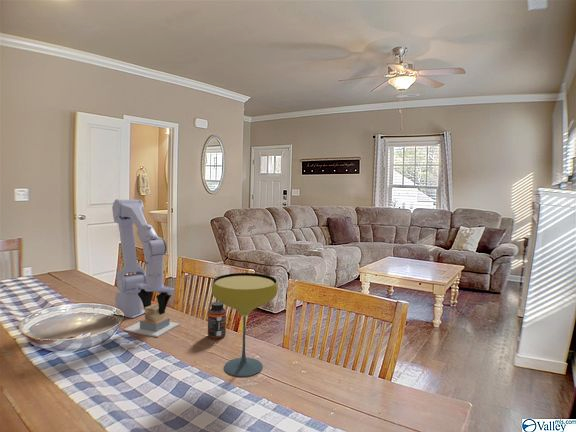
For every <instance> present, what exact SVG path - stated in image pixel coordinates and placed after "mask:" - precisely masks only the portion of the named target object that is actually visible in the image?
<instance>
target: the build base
mask: <svg viewBox="0 0 576 432" xmlns="http://www.w3.org/2000/svg"><path fill="white" fill-rule="evenodd" d="M170 320H171V319H170V317H166V316H164V319H162V320H160V321H158V322H156V323H155V322H150V321H145V318H144V319H142V320H140V321H138V322H136V323H134V324H132V325H130V326H128V327H126V328H124V329H123V331H125V332H130V333H135V334H139V335H144V336H149V337H153V338H160V337H161V336H163V335H165V334H166V333H168V332H171V331H172V330H173V329H175V328H176V327H177V328H178V327H179V326H180V324H181V323H179V322H173V321H170Z"/></svg>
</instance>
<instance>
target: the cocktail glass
mask: <svg viewBox="0 0 576 432" xmlns="http://www.w3.org/2000/svg"><path fill="white" fill-rule="evenodd" d="M277 280H278V279H276V278H275V277H273V276H270V275H267V274H264V273H255V272H254V273H253V272H238V273H237V272H235V273H227V274H223V275H219V276H217V277H215V278H214V279H213V280H212V281H211V282H212V283H211V294H212V296H213V298H215V300H216V301H217V302H220V303H222V304H223V306H224V305H225V306H227V307H229V308H231V309H234V310H236V311H237V313H239V315H240V316H241V317H242V318H243V322H242V323H243V325H242V352H241V353H242V354H241V357H237V358H233V359H230V360H229V361H227V362H226V363H225V364H224V365H223V366H224V368H223V369H224V371H225V373H227V374H228V375H230V376H233V377H238V378H239V377H240V378H247V377H252V376H255V375H258V374H259V373H260V372H261V371H262V370H263V366H264V365H263V363H262V361H260V360H258V359H257V358H256V359H255V358H252V357H246V356H247V355H246V317H248V316H249V315H250V314H251V312H252V311H253V310H255V309H258V308H261V307H262V306H265V305H267V304H268V303H270V302H271V301H272V300H274V299H275V298H276V297H277V294H278V289H279V287H278V281H277Z"/></svg>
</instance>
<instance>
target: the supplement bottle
mask: <svg viewBox="0 0 576 432" xmlns="http://www.w3.org/2000/svg"><path fill="white" fill-rule="evenodd" d="M210 305H211V306H210V307H211V308H209V310H208V311H207V317H208V318H207V319H208V320H207V336H208V337H209V338H210V339H214V340H215V339H216V340H217V339H223V338H224V337H225V336H226V333H227V330H226V329H227V328H226V327H227V325H226V324H227V310H226V308H225V307H224V304H222V303H220V302H219V301H213V302H211V303H210Z"/></svg>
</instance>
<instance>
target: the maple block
mask: <svg viewBox="0 0 576 432" xmlns="http://www.w3.org/2000/svg"><path fill="white" fill-rule="evenodd" d="M144 310H145V313H144V319H145V321H150V322H155V323H156V322H158V321H160V320H162V319H164V317H165V313H163V314H159V305H158V303H157V304H156V303H155V304H154V303H153V304H151V305H150V306H148V307H146V308H145V309H144Z"/></svg>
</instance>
